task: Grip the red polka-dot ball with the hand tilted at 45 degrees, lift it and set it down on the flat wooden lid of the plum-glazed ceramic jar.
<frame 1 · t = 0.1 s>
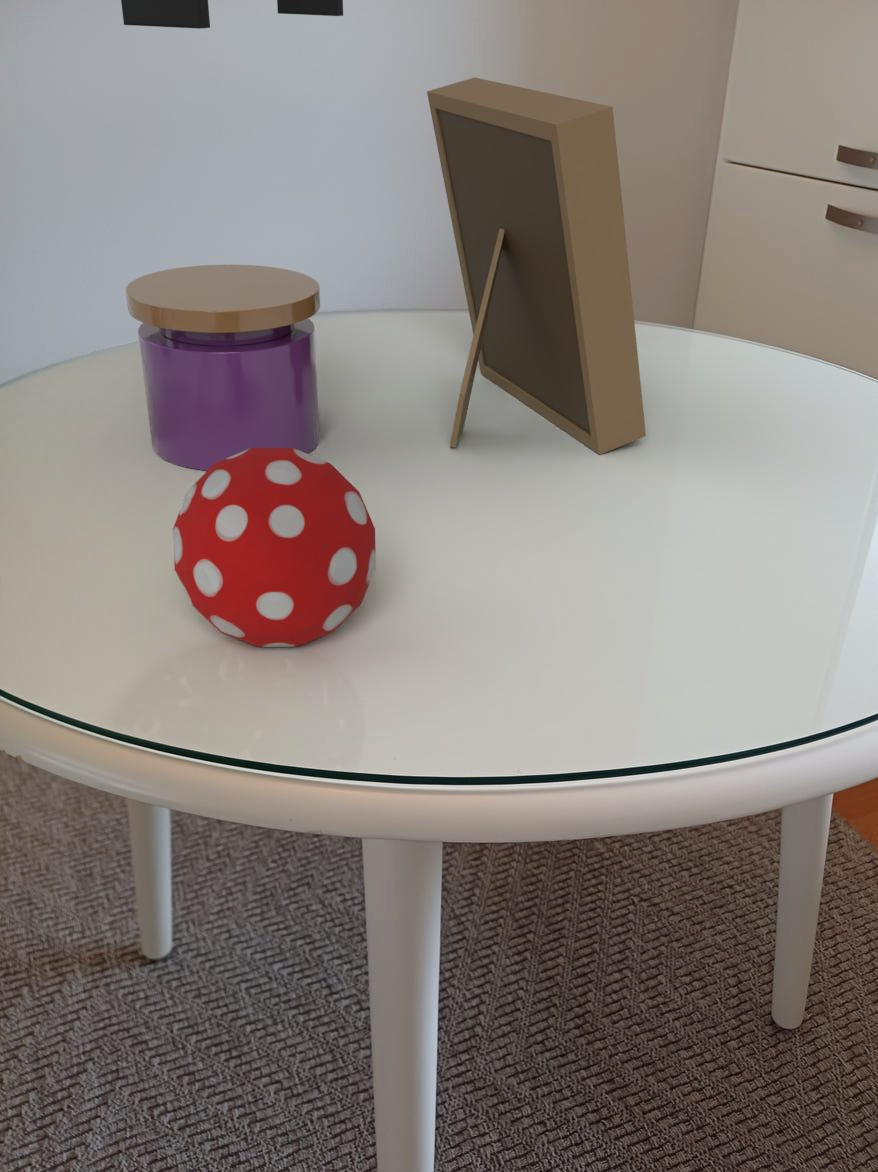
hand: (248, 21, 43), 31 cm above the table, tool pointing down, fingers open, 13 cm apart
red polka-dot ball: (296, 609, 67), on the table
jar: (237, 440, 89), on the table
photo frame: (502, 417, 96), on the table
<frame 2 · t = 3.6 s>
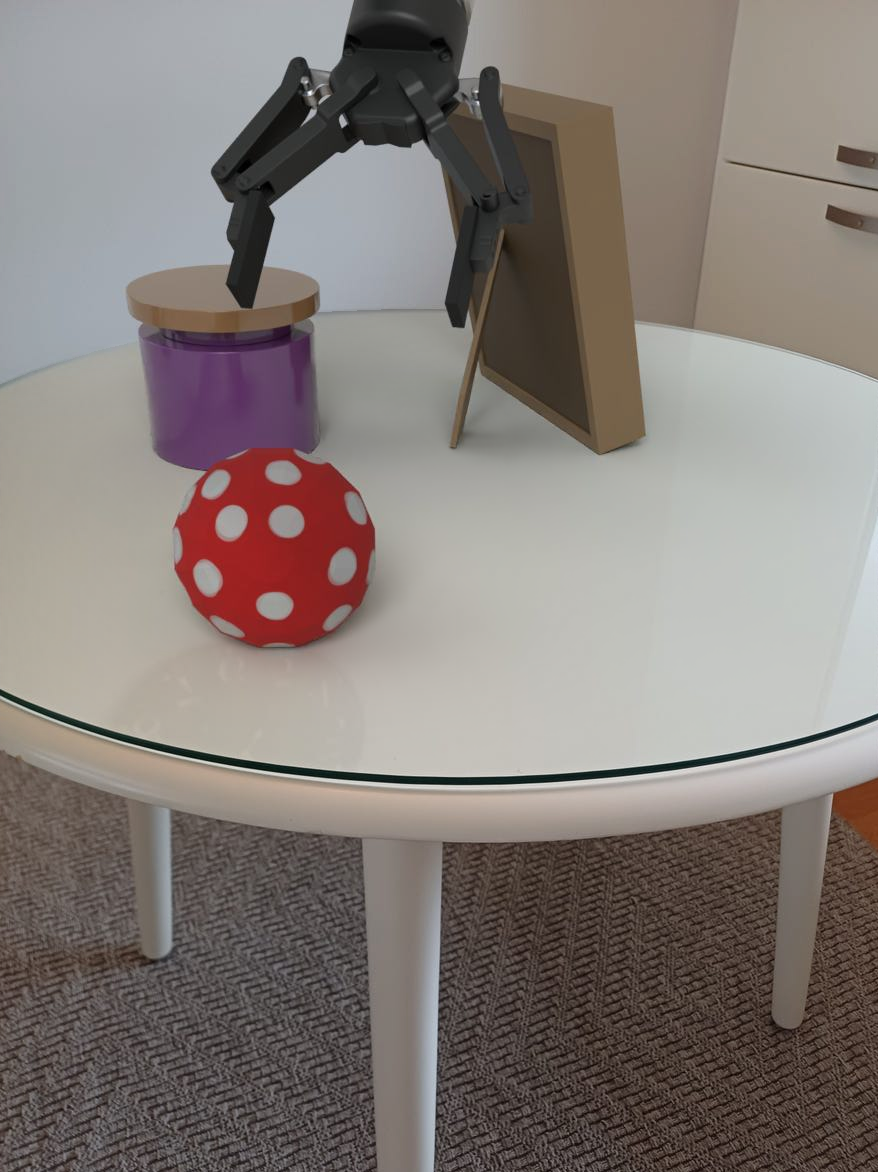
hand: (344, 307, 68), 15 cm above the table, tool tilted 45°, fingers open, 13 cm apart
nothing on the table moved.
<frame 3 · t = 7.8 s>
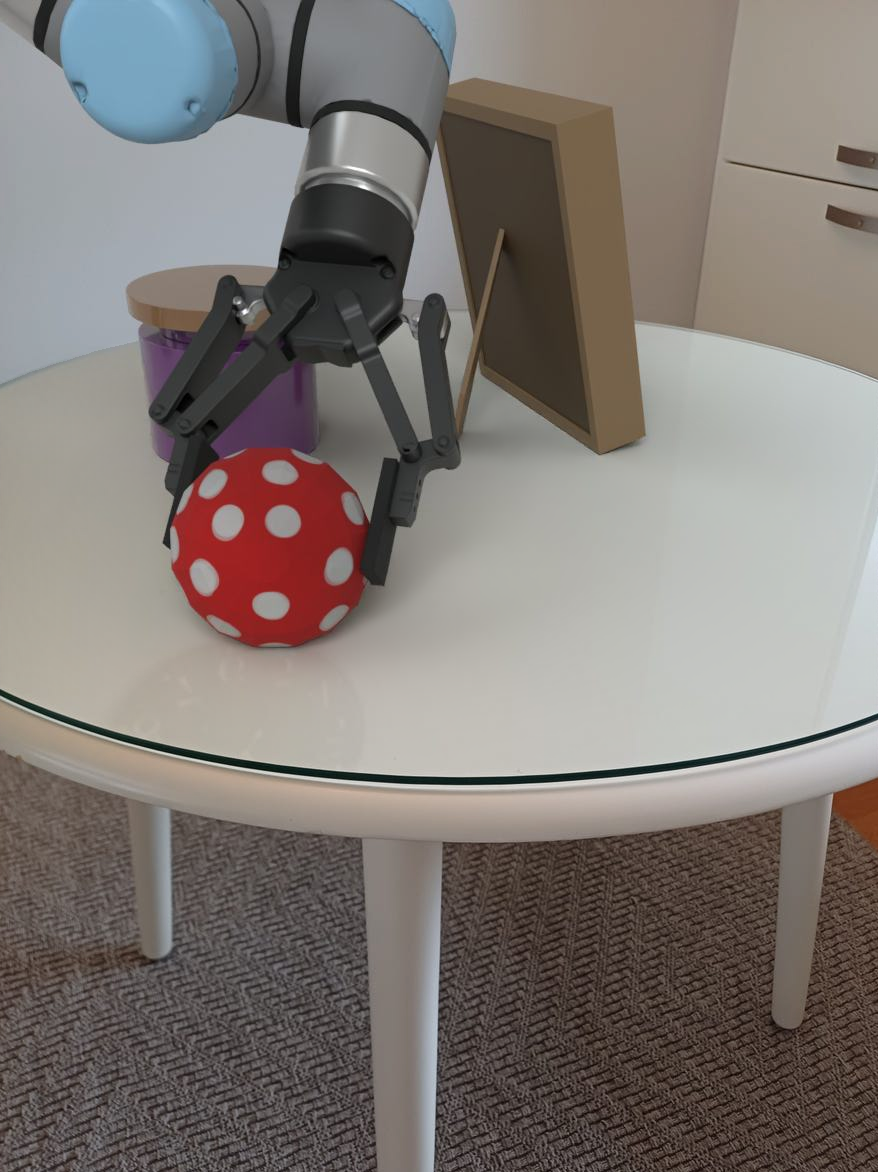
hand: (273, 565, 62), 4 cm above the table, tool tilted 45°, fingers closed on red polka-dot ball, 11 cm apart
red polka-dot ball: (293, 609, 67), on the table, touching gripper
everything else where it was.
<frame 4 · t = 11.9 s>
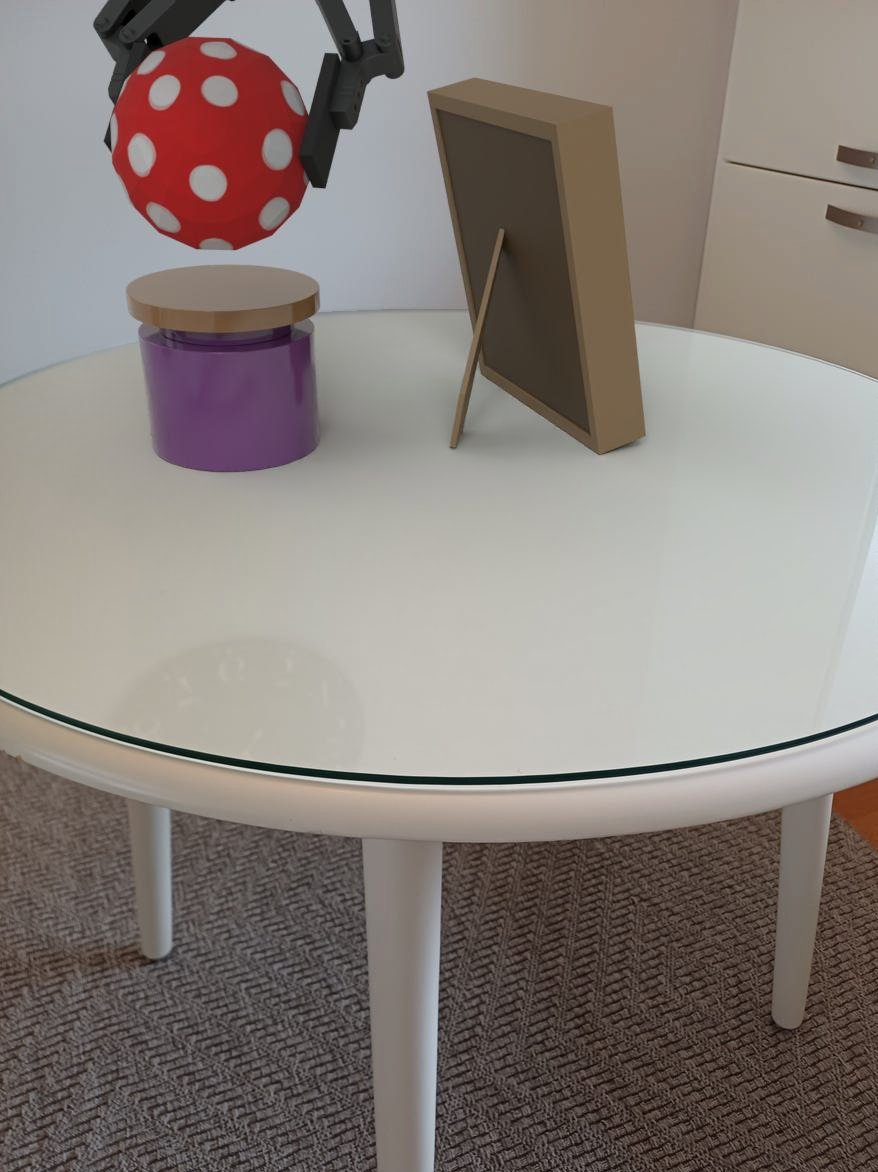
hand: (214, 165, 62), 23 cm above the table, tool tilted 45°, fingers closed on red polka-dot ball, 11 cm apart
red polka-dot ball: (239, 237, 67), point 19 cm above the table, touching gripper
everything else where it was.
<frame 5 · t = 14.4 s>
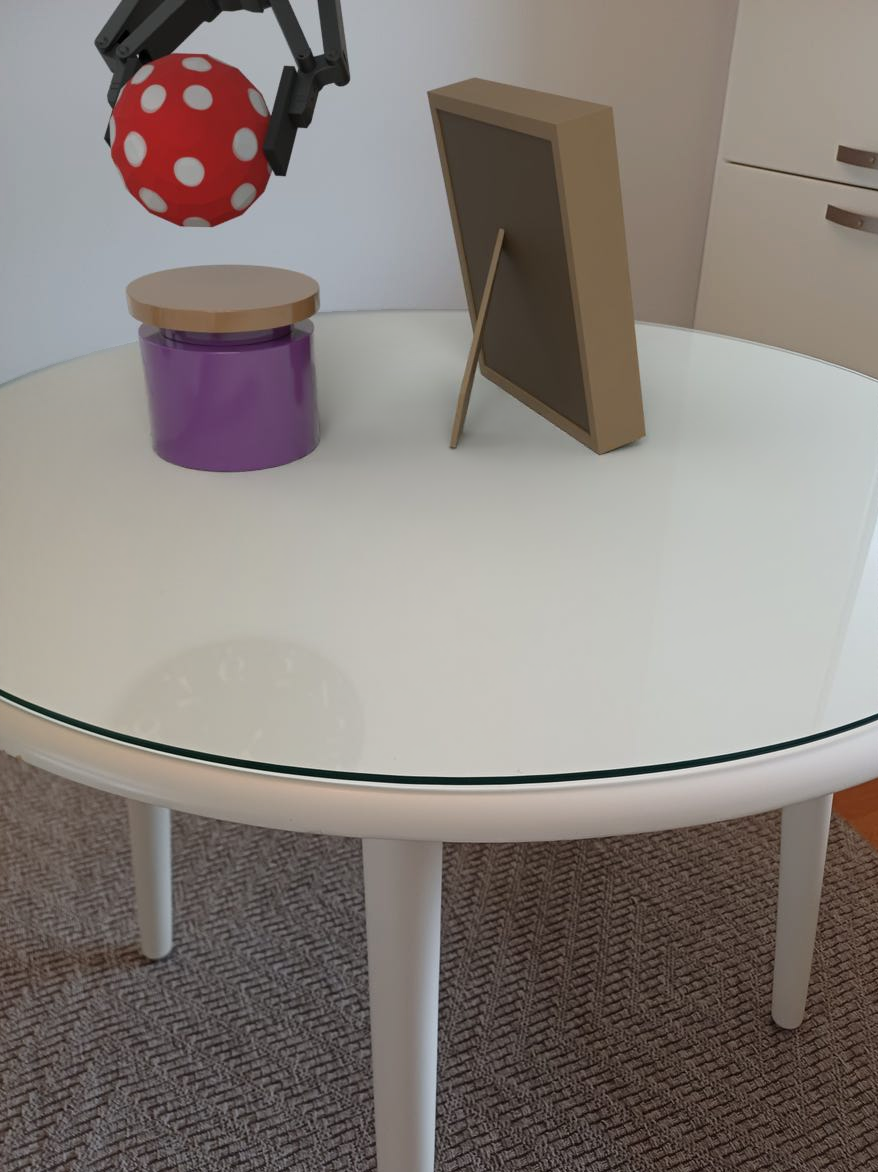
hand: (195, 157, 76), 21 cm above the table, tool tilted 45°, fingers closed on red polka-dot ball, 11 cm apart
red polka-dot ball: (216, 217, 80), point 17 cm above the table, touching gripper
everything else where it was.
when the fingers open (16 cm above the table, at t = 16.4 s): red polka-dot ball stays where it is, resting on jar.
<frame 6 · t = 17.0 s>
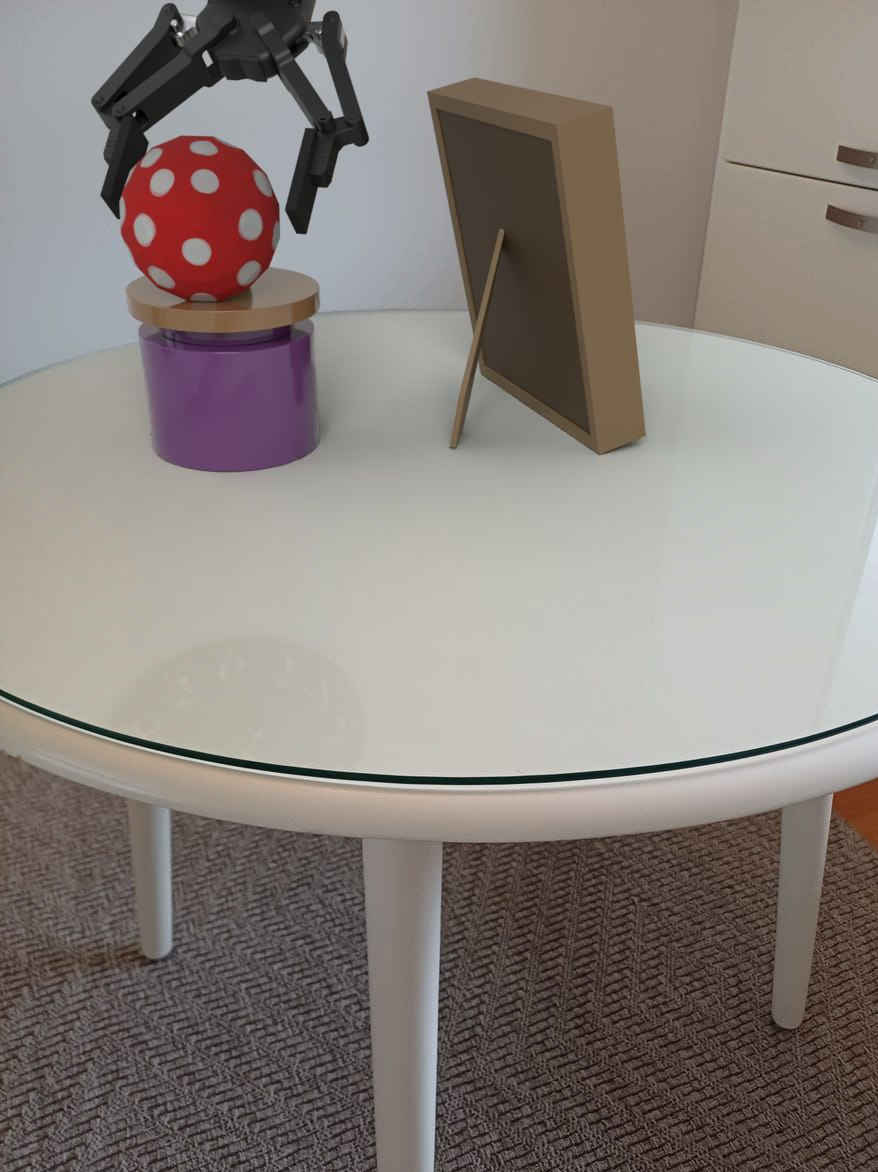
hand: (203, 215, 78), 17 cm above the table, tool tilted 45°, fingers open, 13 cm apart
red polka-dot ball: (222, 288, 83), point 12 cm above the table, touching jar
everything else where it was.
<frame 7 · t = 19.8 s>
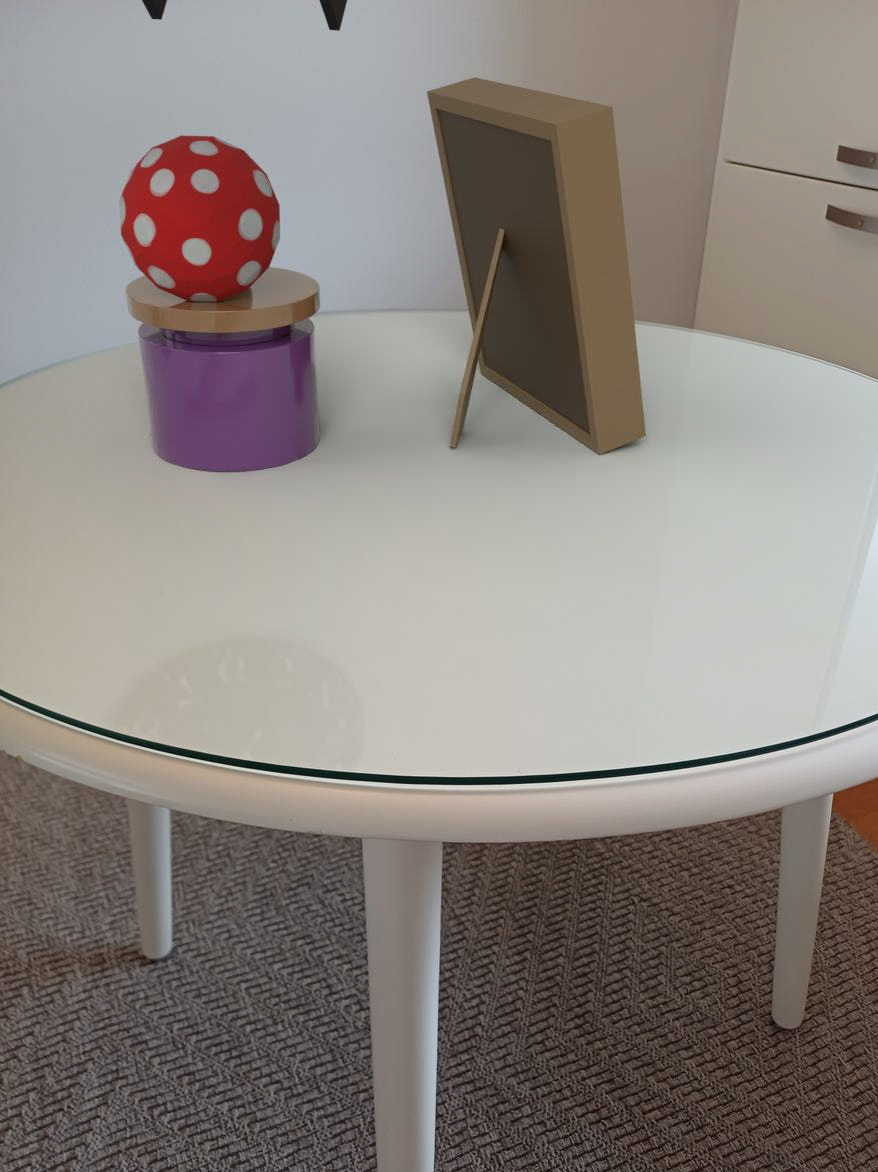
hand: (237, 10, 79), 30 cm above the table, tool tilted 45°, fingers open, 13 cm apart
nothing on the table moved.
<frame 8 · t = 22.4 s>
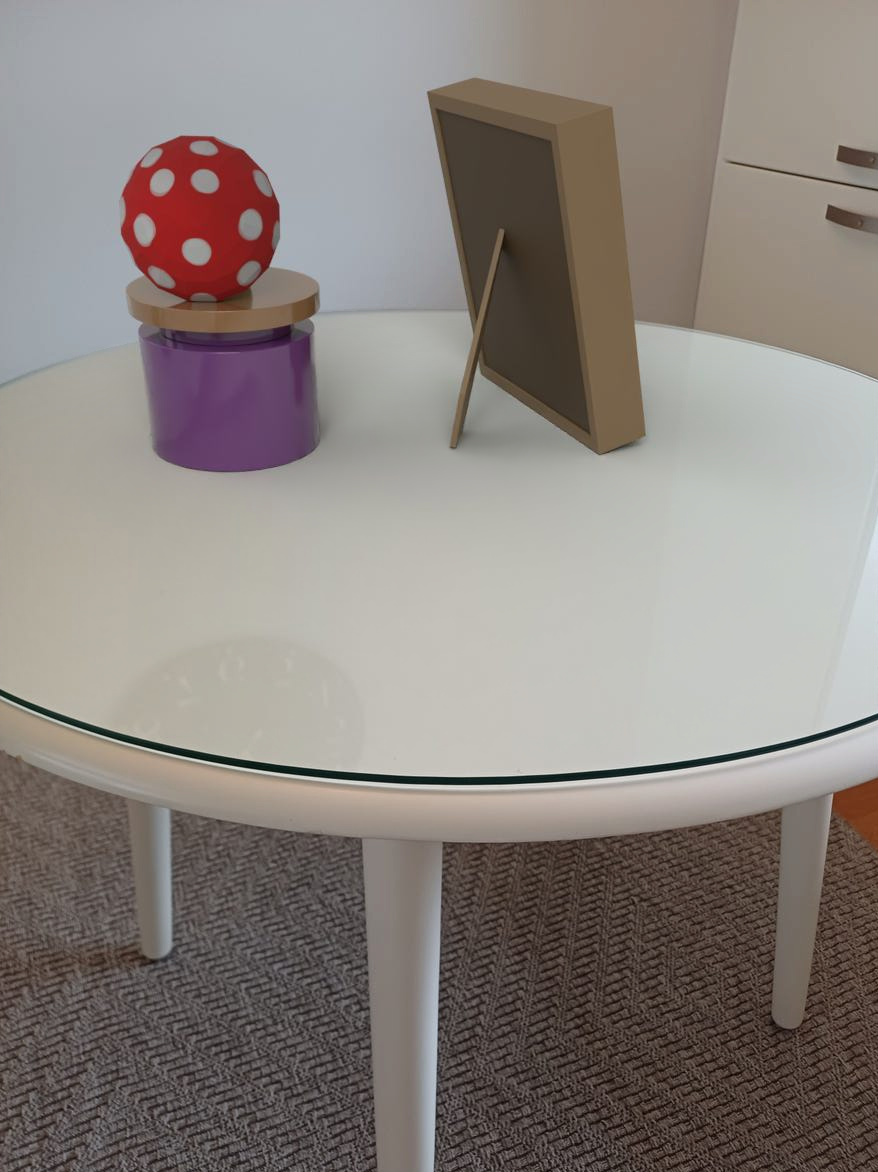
nothing on the table moved.
at the end: red polka-dot ball inside the target area on the jar (0.2 cm from its centre), point 11.8 cm above the jar's base; red polka-dot ball tilted 1°; the gripper is holding nothing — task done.
